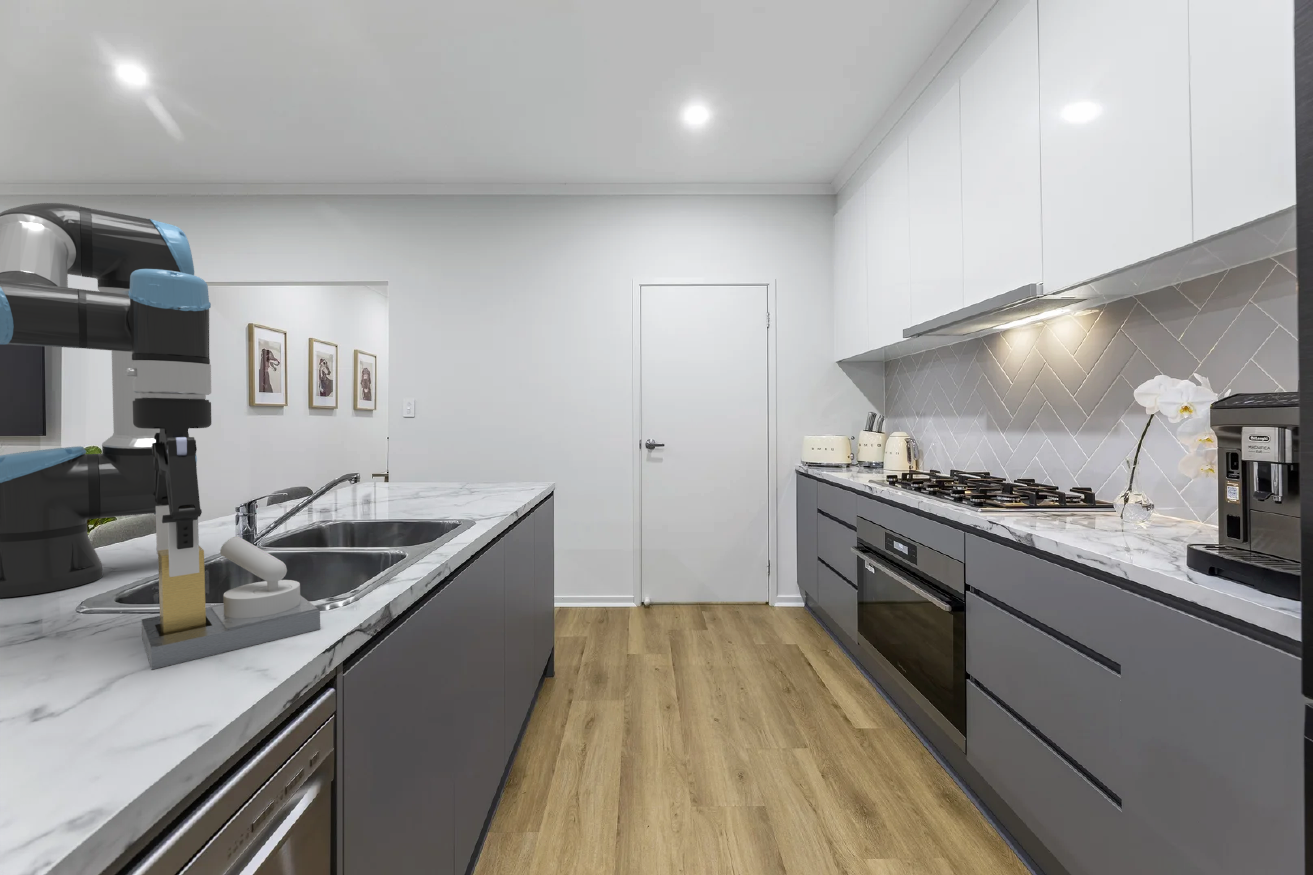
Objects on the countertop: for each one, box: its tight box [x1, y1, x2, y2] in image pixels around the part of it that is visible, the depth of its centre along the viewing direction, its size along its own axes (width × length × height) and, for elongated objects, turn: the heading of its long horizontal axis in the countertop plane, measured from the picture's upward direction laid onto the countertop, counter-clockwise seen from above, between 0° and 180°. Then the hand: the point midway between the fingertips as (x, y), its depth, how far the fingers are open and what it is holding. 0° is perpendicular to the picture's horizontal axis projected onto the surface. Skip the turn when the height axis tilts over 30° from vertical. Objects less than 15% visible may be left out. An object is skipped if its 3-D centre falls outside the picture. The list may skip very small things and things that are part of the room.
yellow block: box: [157, 545, 206, 636], centre depth 70 cm, size 4×4×12 cm
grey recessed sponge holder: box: [140, 594, 321, 670], centre depth 74 cm, size 13×17×3 cm
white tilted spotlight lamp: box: [219, 536, 301, 618], centre depth 77 cm, size 9×10×10 cm
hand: (176, 562), depth 72 cm, fingers open, 13 cm apart
